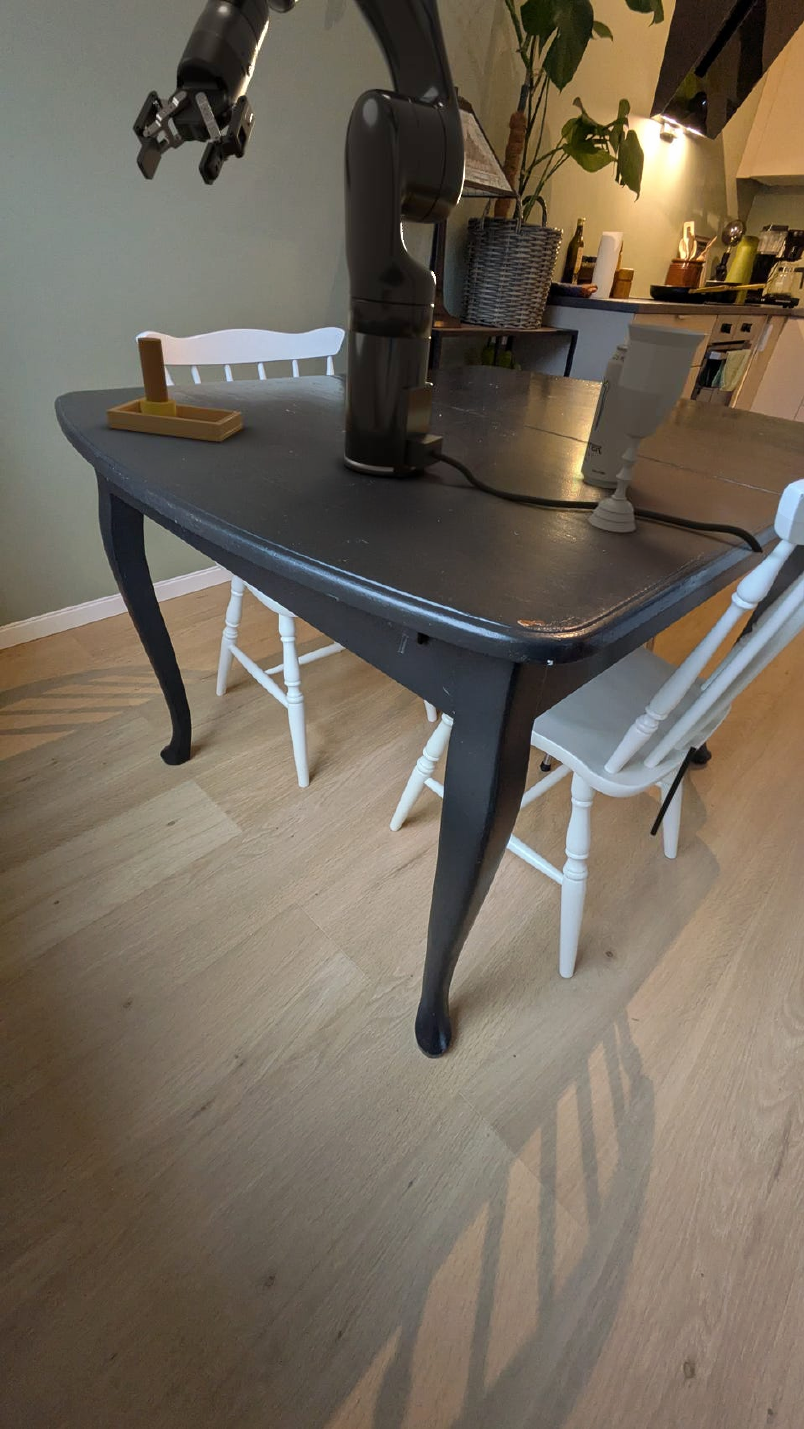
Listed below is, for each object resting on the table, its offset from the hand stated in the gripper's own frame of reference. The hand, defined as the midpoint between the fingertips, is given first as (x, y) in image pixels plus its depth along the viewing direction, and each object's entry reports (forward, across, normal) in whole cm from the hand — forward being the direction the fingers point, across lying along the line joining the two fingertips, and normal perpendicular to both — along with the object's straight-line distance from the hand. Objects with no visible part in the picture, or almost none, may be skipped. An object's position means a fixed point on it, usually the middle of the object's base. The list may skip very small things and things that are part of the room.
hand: (174, 175), depth 76 cm
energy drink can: (+17, +58, +21) cm, 64 cm away
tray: (+25, +2, +13) cm, 28 cm away
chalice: (+28, +60, +10) cm, 67 cm away
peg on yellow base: (+24, 0, +12) cm, 27 cm away
